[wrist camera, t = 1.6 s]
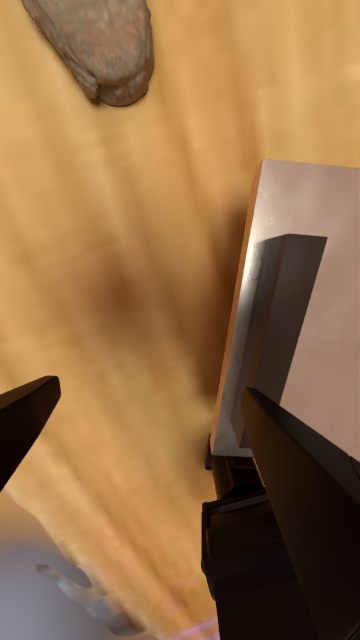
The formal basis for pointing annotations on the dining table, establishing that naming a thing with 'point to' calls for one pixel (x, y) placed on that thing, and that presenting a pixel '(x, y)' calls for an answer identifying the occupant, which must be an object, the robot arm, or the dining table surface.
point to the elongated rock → (100, 44)
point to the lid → (296, 305)
